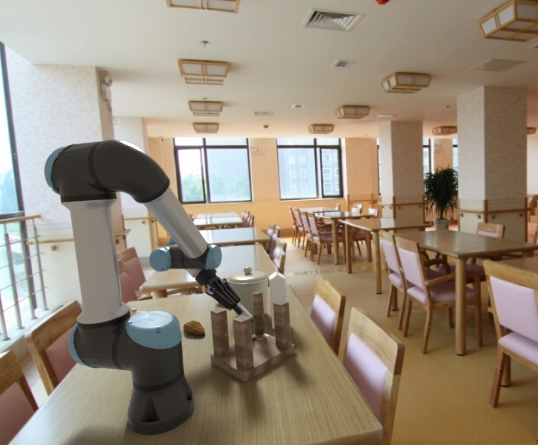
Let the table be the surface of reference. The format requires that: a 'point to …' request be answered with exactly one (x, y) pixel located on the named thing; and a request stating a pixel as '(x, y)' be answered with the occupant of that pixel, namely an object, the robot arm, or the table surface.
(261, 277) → the canister
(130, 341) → the robot arm
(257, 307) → the hinged leg
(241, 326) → the stool seat
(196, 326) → the croissant
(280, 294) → the milk
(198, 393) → the table surface
